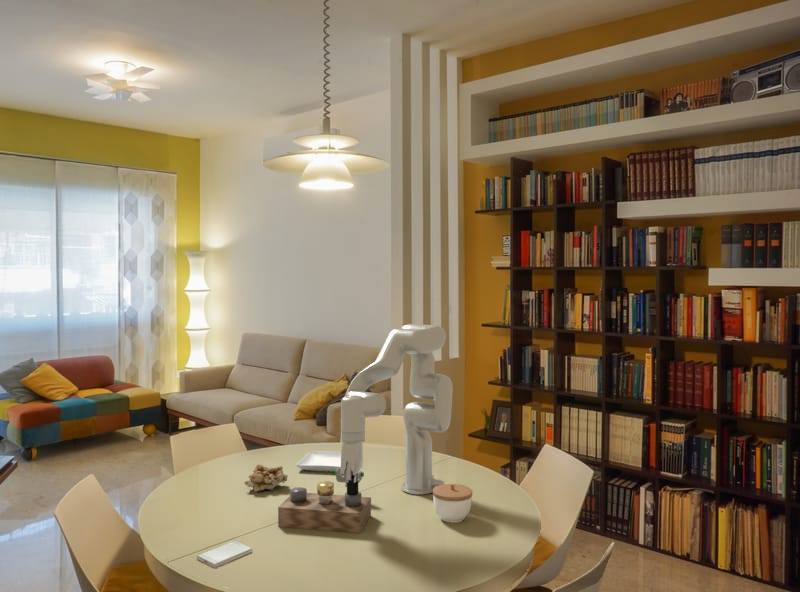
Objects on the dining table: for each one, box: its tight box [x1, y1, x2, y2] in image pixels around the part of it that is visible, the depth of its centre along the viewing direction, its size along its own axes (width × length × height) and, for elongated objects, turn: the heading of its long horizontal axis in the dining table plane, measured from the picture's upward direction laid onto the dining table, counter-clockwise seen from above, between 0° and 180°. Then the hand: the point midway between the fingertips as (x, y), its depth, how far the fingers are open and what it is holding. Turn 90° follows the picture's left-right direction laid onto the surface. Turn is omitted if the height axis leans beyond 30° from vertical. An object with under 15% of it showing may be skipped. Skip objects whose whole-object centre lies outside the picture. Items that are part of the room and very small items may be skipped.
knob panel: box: [277, 492, 372, 534], centre depth 199 cm, size 26×14×6 cm, turn 79°
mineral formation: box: [243, 463, 288, 492], centre depth 229 cm, size 8×13×15 cm
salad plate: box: [296, 450, 341, 473], centre depth 257 cm, size 21×21×3 cm
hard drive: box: [196, 540, 253, 569], centre depth 175 cm, size 2×8×12 cm
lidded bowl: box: [432, 483, 473, 524], centre depth 201 cm, size 13×13×11 cm
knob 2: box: [344, 491, 363, 507], centre depth 197 cm, size 5×5×8 cm
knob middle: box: [316, 480, 335, 505], centre depth 199 cm, size 5×5×8 cm
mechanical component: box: [333, 469, 365, 488], centre depth 218 cm, size 3×10×10 cm, turn 78°
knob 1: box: [289, 486, 308, 503], centre depth 200 cm, size 5×5×8 cm
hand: (352, 494), depth 197 cm, fingers closed
